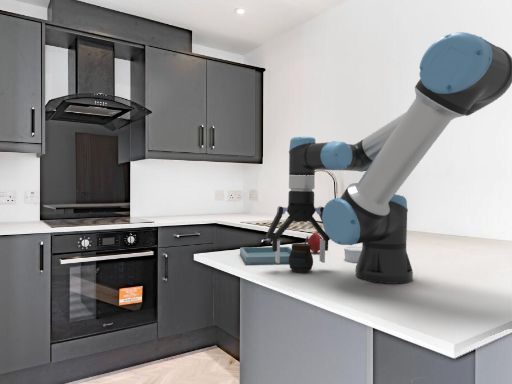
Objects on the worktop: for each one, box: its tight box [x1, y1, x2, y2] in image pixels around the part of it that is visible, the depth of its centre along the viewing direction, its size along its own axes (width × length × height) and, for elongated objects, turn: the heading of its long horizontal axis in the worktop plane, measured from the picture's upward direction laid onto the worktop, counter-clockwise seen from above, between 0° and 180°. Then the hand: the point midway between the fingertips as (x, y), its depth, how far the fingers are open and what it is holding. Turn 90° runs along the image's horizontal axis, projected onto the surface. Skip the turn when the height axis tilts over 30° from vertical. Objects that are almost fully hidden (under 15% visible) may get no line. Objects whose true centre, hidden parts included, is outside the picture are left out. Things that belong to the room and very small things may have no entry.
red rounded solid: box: [306, 230, 323, 254], centre depth 146 cm, size 6×6×8 cm
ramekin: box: [343, 245, 362, 264], centre depth 133 cm, size 9×9×4 cm
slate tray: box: [239, 246, 292, 266], centre depth 134 cm, size 18×18×2 cm
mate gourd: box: [288, 236, 314, 274], centre depth 116 cm, size 7×8×10 cm
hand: (299, 262), depth 117 cm, fingers open, 13 cm apart
